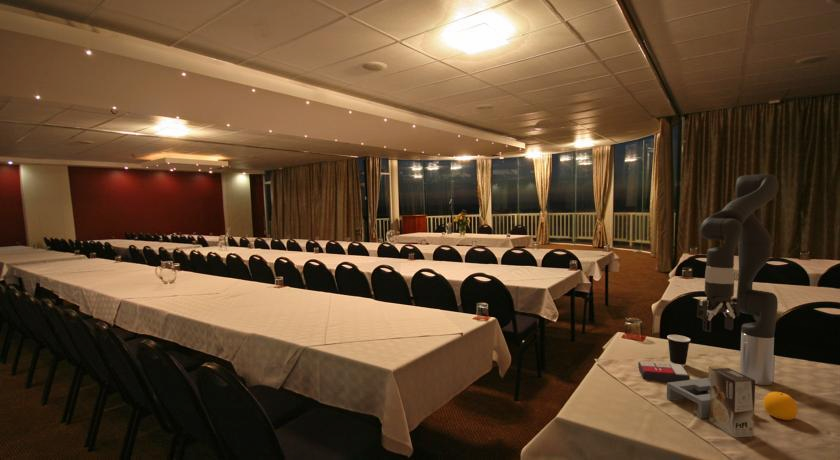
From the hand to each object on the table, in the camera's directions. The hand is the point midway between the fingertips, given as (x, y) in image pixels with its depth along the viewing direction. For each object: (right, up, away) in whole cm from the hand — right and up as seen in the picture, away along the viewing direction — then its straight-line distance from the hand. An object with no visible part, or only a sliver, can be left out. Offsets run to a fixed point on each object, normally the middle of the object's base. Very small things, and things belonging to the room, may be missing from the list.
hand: (717, 330), depth 130 cm
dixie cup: (+9, -22, +33) cm, 41 cm away
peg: (0, -24, +1) cm, 24 cm away
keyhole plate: (-4, -24, 0) cm, 24 cm away
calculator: (-4, -24, +22) cm, 33 cm away
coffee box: (-6, -25, -14) cm, 29 cm away
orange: (+13, -25, -7) cm, 29 cm away
